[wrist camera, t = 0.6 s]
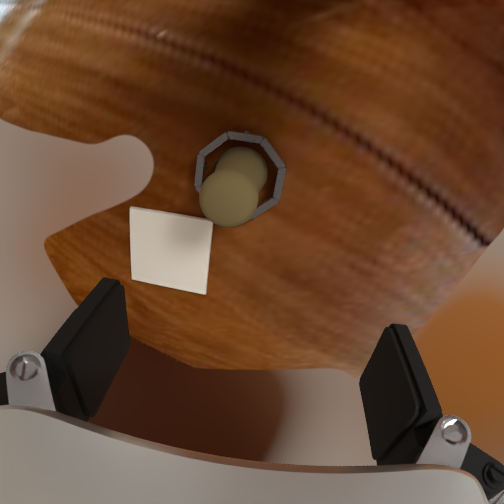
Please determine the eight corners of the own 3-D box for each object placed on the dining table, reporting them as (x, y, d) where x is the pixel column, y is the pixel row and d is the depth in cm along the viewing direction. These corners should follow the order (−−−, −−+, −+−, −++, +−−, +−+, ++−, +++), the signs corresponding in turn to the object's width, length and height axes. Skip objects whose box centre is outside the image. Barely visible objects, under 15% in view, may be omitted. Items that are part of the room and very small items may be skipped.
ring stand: (204, 124, 34) (199, 126, 32) (291, 138, 34) (292, 141, 32) (195, 204, 39) (191, 211, 37) (276, 218, 39) (275, 225, 37)
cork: (219, 199, 38) (196, 239, 28) (211, 149, 35) (184, 173, 26) (270, 194, 37) (265, 235, 28) (265, 143, 34) (257, 165, 25)
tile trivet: (131, 206, 39) (129, 208, 39) (213, 219, 39) (212, 221, 39) (133, 277, 45) (131, 279, 44) (206, 292, 45) (205, 294, 44)
